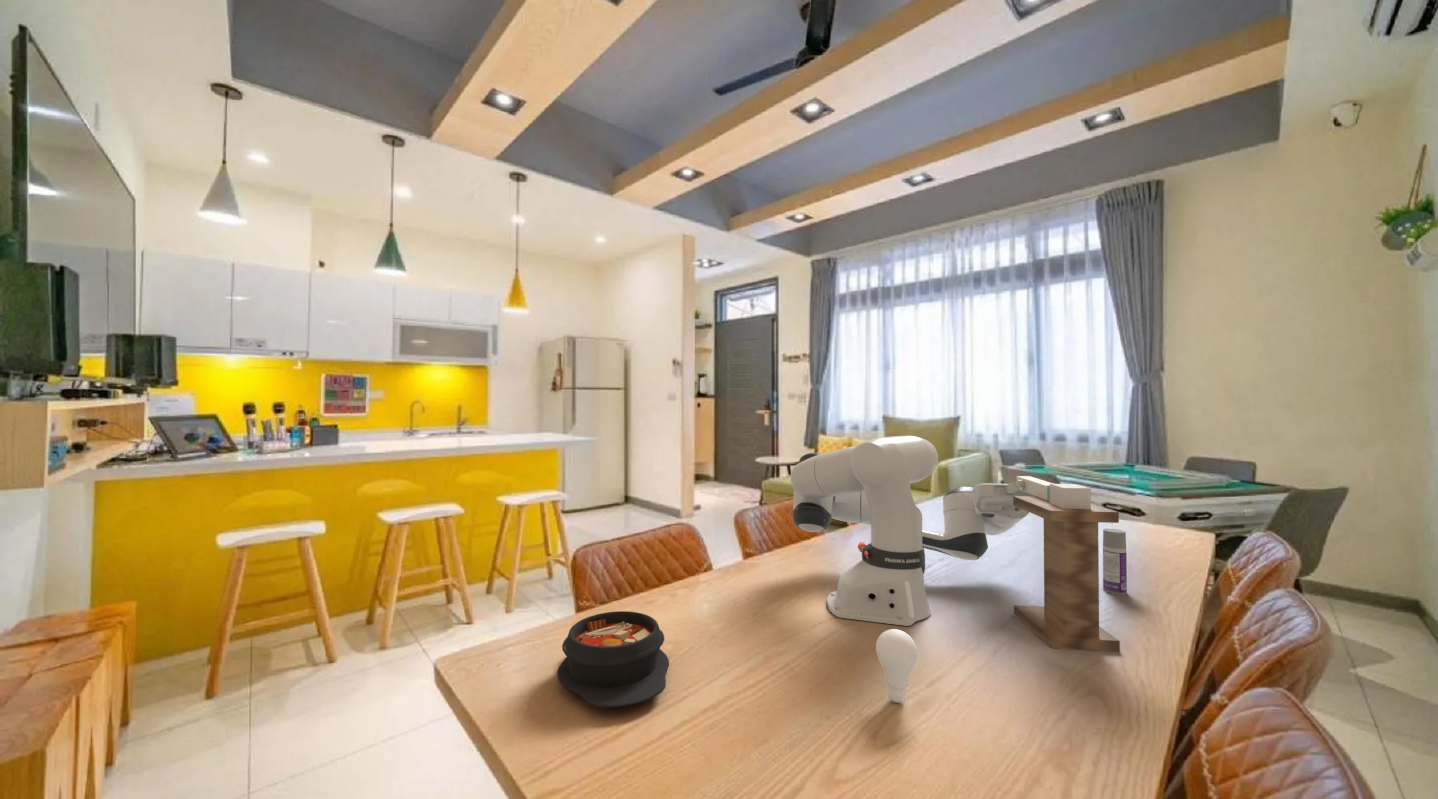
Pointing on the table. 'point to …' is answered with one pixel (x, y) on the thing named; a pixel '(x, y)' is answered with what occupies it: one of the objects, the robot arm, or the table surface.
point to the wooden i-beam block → (1069, 577)
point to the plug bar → (1058, 493)
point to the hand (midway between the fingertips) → (1031, 483)
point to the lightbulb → (896, 660)
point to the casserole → (614, 659)
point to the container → (1114, 561)
